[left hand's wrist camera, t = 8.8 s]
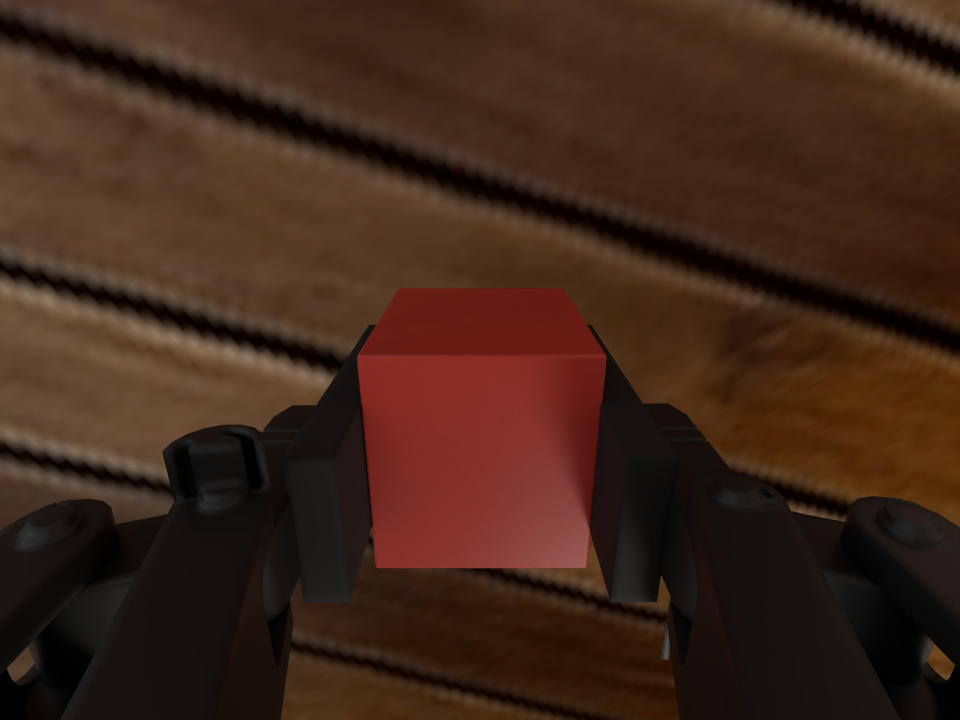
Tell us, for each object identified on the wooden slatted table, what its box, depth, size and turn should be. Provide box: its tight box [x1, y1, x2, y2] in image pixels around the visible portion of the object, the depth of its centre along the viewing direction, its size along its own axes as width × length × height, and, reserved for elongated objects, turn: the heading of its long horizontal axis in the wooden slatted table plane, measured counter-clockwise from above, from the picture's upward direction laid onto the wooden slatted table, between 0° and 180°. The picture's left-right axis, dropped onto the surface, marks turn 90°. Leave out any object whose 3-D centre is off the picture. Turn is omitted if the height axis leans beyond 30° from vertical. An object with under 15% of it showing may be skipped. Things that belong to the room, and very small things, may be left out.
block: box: [357, 288, 607, 568], centre depth 12 cm, size 4×5×5 cm
